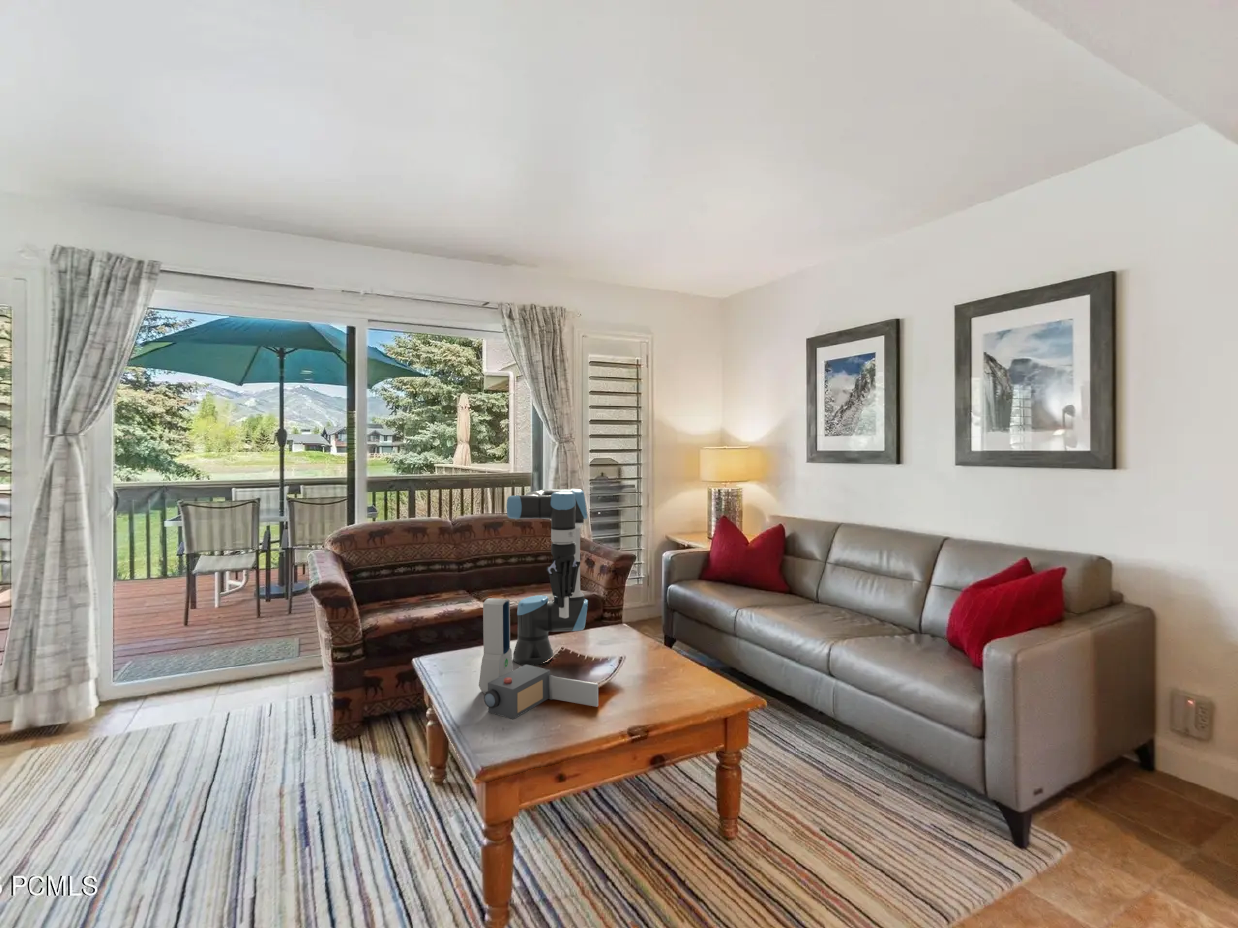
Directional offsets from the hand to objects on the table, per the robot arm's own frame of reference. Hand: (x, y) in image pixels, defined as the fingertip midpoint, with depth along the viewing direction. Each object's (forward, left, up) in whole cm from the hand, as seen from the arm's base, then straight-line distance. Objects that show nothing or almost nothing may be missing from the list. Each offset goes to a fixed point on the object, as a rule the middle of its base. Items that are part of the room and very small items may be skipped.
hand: (564, 616), depth 189 cm
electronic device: (+1, -28, -28) cm, 40 cm away
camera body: (+7, -13, -28) cm, 31 cm away
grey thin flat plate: (-3, +1, -28) cm, 28 cm away
